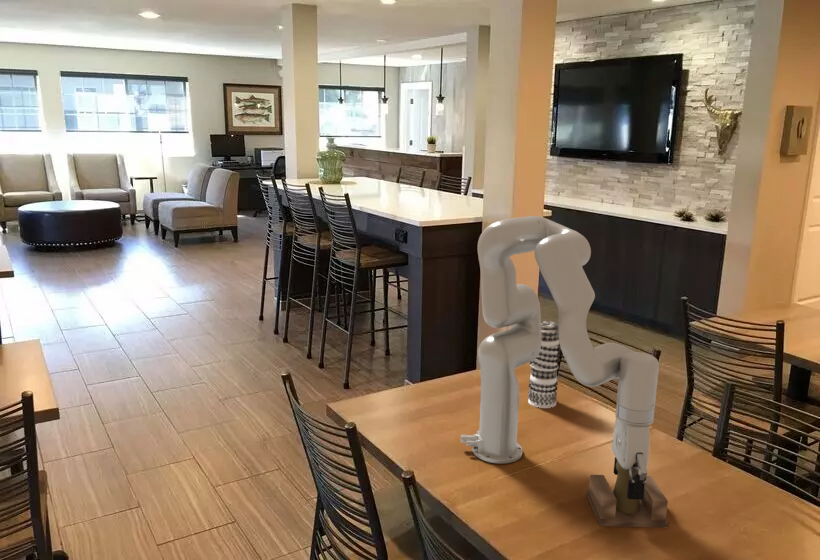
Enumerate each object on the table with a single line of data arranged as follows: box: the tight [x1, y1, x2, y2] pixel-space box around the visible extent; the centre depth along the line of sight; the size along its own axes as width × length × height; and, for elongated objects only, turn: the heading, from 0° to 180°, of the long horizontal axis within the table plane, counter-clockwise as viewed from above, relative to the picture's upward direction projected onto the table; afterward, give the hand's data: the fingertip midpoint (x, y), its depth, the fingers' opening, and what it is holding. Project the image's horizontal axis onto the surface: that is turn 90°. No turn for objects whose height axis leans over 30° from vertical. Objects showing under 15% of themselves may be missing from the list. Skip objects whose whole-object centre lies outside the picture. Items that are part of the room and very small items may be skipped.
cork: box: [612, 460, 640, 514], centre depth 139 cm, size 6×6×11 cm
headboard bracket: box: [585, 474, 670, 528], centre depth 139 cm, size 14×12×6 cm
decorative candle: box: [527, 320, 561, 409], centre depth 193 cm, size 9×9×25 cm
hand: (627, 486), depth 139 cm, fingers open, 9 cm apart
